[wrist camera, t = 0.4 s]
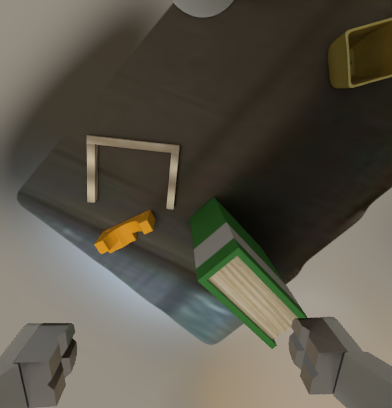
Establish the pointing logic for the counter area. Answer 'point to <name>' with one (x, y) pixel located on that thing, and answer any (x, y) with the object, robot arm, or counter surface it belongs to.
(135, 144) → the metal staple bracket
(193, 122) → the counter surface
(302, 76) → the counter surface
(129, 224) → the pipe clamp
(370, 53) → the flower pot
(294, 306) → the hardback book
